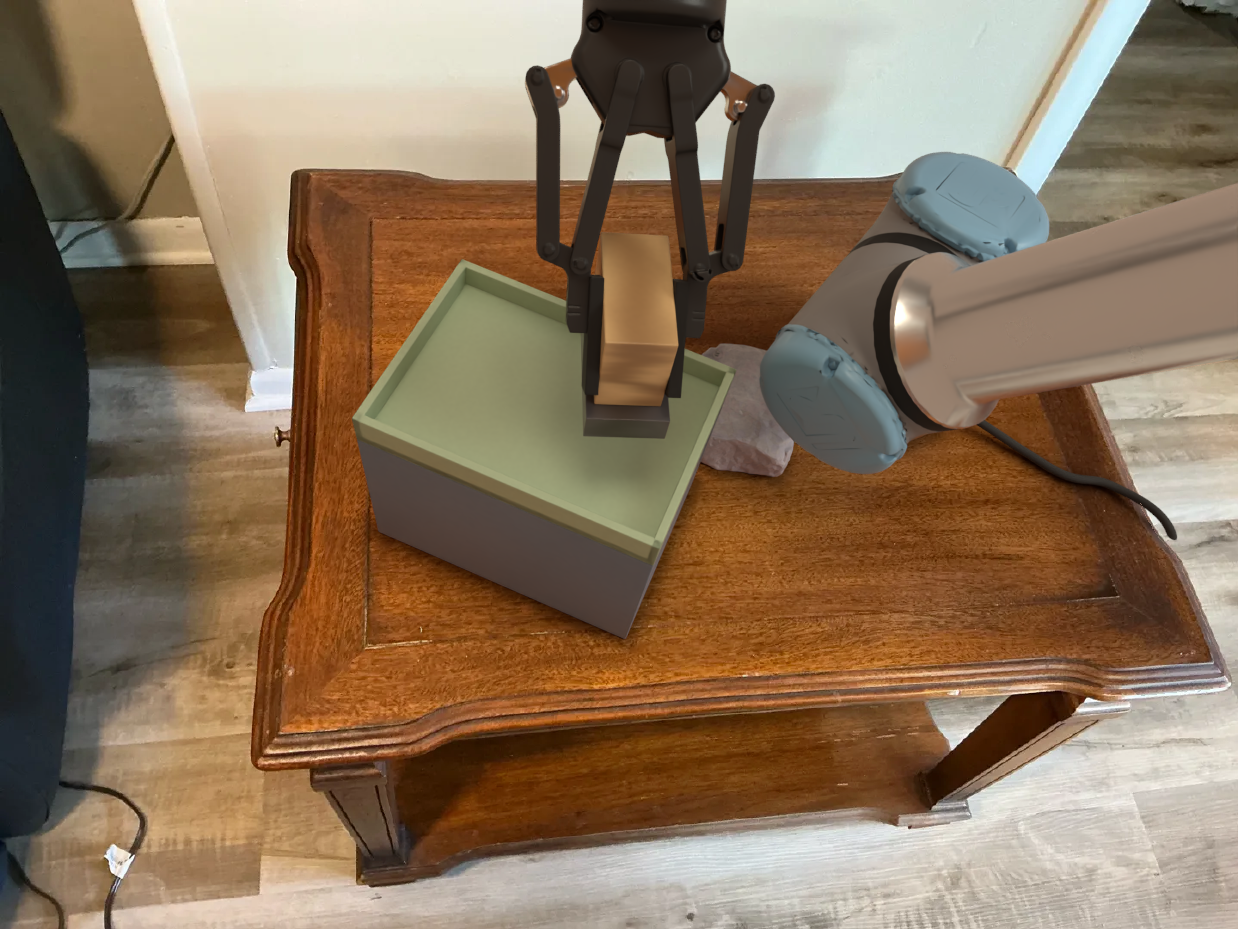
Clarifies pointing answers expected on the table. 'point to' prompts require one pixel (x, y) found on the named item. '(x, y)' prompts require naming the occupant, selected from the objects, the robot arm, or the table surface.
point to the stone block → (746, 420)
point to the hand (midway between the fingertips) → (630, 391)
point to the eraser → (633, 338)
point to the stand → (508, 542)
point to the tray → (533, 415)
